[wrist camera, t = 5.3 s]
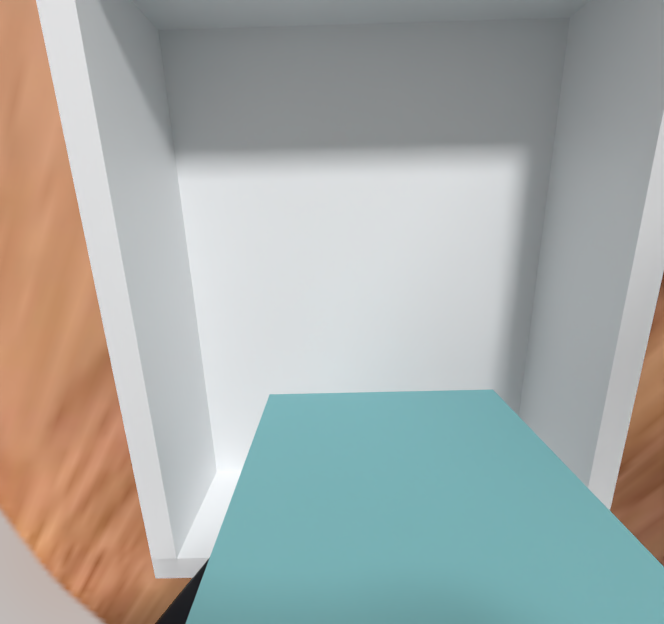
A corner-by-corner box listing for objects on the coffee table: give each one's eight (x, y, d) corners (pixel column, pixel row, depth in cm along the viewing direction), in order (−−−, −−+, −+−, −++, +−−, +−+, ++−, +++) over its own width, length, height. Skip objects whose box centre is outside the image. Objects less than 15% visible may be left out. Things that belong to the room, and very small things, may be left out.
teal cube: (474, 563, 9) (646, 973, 4) (283, 567, 9) (224, 976, 4) (493, 389, 8) (774, 681, 3) (269, 394, 8) (160, 691, 3)
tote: (520, 469, 13) (596, 569, 10) (206, 476, 13) (155, 578, 10) (584, -1, 9) (759, -155, 6) (140, 13, 10) (9, -129, 6)
